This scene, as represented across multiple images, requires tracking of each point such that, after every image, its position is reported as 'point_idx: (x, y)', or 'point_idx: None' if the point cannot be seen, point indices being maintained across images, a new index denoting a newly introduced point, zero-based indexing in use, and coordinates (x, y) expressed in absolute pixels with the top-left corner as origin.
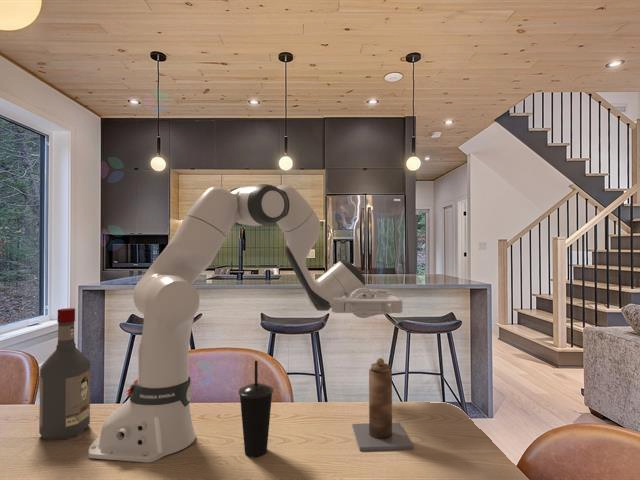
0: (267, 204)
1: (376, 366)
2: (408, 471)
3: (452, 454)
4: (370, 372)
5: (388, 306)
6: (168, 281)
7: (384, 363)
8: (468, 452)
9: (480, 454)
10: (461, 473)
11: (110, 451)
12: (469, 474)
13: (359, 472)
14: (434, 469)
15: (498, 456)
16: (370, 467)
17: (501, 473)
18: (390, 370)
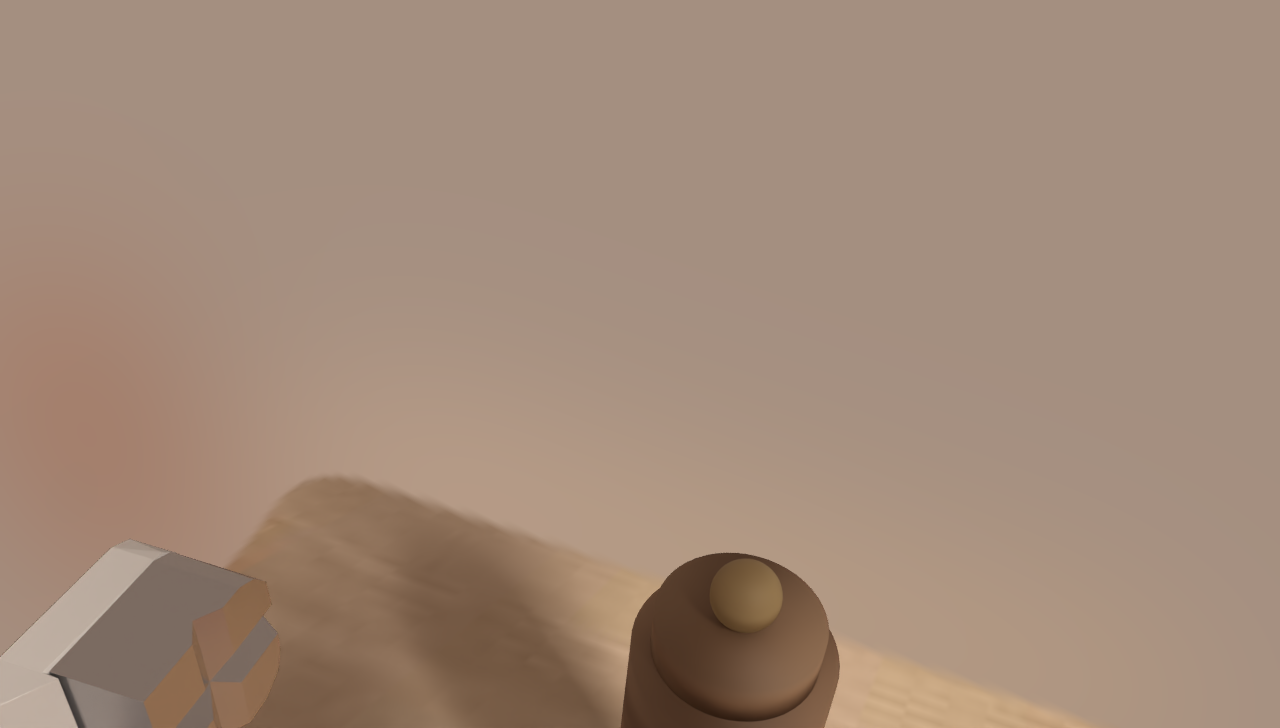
0: None
1: (788, 608)
2: None
3: (418, 640)
4: (836, 653)
5: (185, 558)
6: None
7: (674, 648)
8: (332, 626)
9: (299, 596)
10: (506, 534)
11: None
12: (483, 520)
13: (917, 678)
14: (588, 586)
15: (244, 559)
16: (856, 692)
17: (364, 486)
18: (646, 619)
